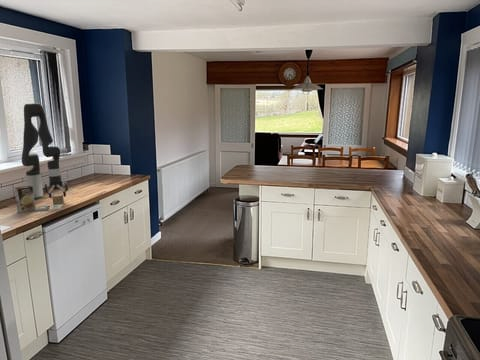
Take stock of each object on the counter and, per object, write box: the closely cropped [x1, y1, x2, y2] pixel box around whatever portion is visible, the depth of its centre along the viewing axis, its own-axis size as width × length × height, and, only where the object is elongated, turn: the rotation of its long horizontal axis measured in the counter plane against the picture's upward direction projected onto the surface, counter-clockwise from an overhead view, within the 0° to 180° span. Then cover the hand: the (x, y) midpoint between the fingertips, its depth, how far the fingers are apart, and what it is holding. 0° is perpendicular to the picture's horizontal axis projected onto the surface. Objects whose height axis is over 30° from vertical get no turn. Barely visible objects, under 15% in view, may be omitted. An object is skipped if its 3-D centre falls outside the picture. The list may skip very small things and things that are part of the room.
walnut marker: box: [51, 193, 65, 205], centre depth 251 cm, size 6×6×6 cm
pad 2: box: [48, 203, 64, 211], centre depth 241 cm, size 10×7×1 cm
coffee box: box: [14, 185, 37, 214], centre depth 234 cm, size 9×6×16 cm
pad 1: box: [34, 204, 51, 213], centre depth 238 cm, size 10×7×1 cm
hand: (57, 197), depth 251 cm, fingers open, 8 cm apart
